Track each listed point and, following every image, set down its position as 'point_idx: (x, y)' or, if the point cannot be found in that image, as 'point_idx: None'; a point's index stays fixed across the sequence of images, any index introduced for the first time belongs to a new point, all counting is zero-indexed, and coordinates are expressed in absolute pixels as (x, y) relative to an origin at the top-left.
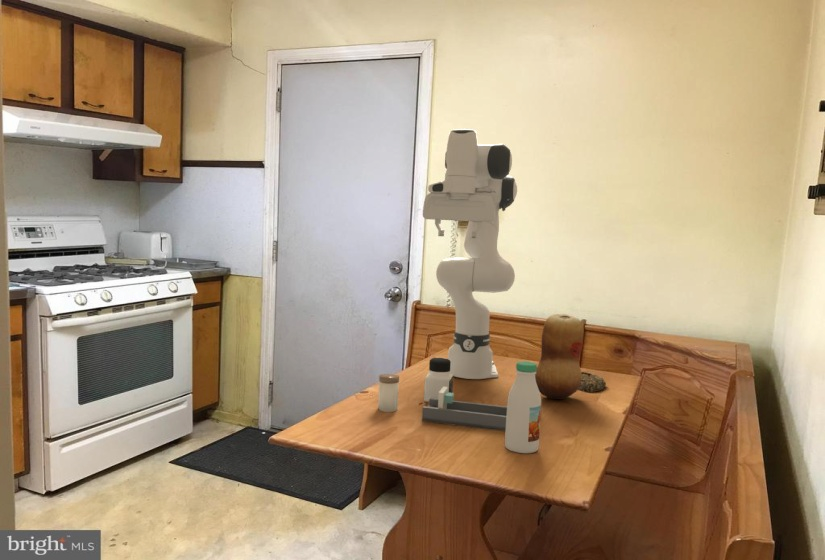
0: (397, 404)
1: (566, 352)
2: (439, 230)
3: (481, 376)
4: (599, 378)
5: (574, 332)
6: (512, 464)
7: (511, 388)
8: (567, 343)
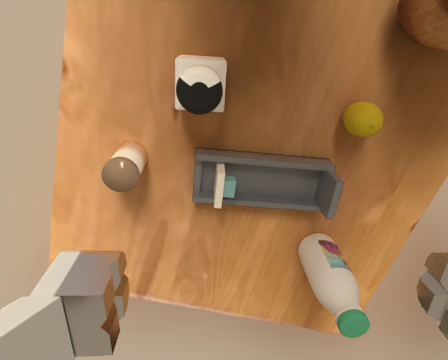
0: (146, 158)
1: None
2: (63, 352)
3: None
4: None
5: None
6: (299, 286)
7: (322, 300)
8: None
